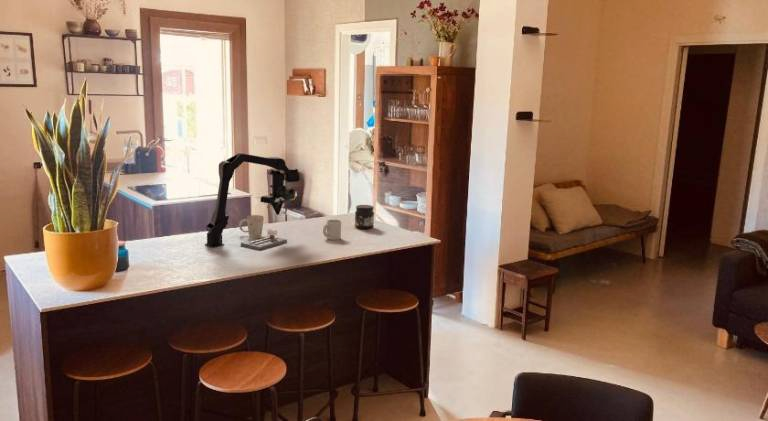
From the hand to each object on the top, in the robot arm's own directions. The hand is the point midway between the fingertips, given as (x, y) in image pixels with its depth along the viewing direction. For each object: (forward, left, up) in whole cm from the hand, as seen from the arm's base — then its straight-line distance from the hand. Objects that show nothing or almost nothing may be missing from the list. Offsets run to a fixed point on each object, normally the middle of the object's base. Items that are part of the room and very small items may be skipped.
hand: (277, 214), depth 298 cm
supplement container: (+50, -18, -13) cm, 55 cm away
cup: (+19, -19, -13) cm, 30 cm away
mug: (-4, +14, -13) cm, 19 cm away
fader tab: (-6, -2, -11) cm, 12 cm away
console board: (-11, -1, -12) cm, 17 cm away
